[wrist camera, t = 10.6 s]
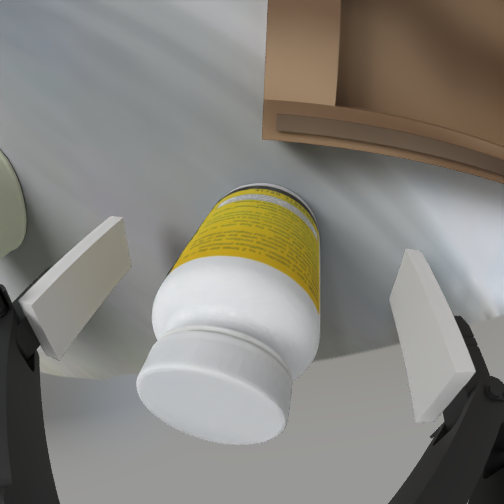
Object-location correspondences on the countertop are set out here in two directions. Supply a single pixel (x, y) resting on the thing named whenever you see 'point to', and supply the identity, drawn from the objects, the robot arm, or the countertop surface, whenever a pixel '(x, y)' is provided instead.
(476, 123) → the board
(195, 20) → the countertop surface
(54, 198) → the countertop surface
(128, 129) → the countertop surface
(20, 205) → the can
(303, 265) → the supplement bottle
